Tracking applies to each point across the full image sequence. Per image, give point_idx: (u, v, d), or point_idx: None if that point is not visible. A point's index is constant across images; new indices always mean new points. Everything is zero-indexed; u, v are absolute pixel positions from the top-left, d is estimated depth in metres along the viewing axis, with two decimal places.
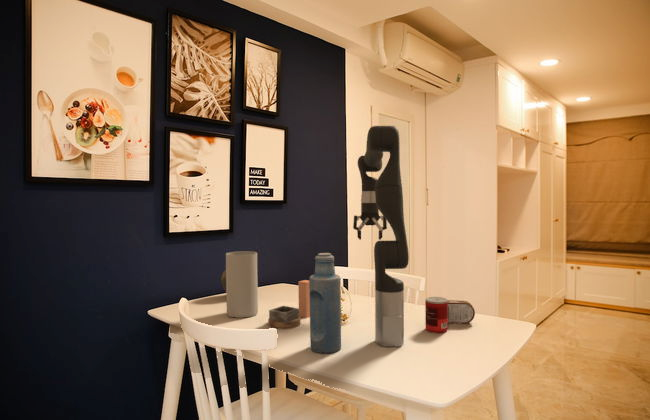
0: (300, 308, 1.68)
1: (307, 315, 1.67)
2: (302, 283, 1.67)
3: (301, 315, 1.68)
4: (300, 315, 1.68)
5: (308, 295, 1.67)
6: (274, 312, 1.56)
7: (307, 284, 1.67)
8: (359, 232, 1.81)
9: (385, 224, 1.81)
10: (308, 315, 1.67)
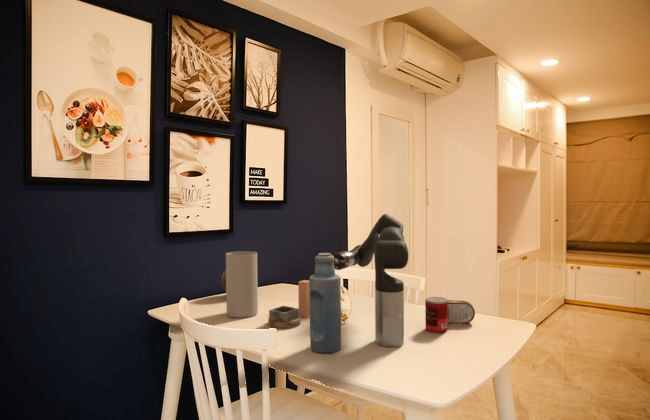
0: (300, 308, 1.68)
1: (307, 315, 1.67)
2: (302, 283, 1.67)
3: (301, 315, 1.68)
4: (300, 315, 1.68)
5: (308, 295, 1.67)
6: (274, 312, 1.56)
7: (307, 284, 1.67)
8: None
9: (343, 261, 1.79)
10: (308, 315, 1.67)
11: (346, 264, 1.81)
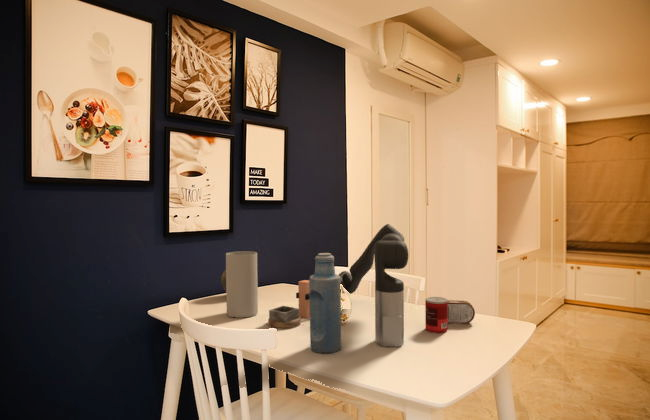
0: (300, 308, 1.68)
1: (307, 315, 1.67)
2: (302, 283, 1.67)
3: (301, 315, 1.68)
4: (300, 315, 1.68)
5: None
6: (274, 312, 1.56)
7: (307, 284, 1.66)
8: None
9: None
10: (308, 315, 1.67)
11: None
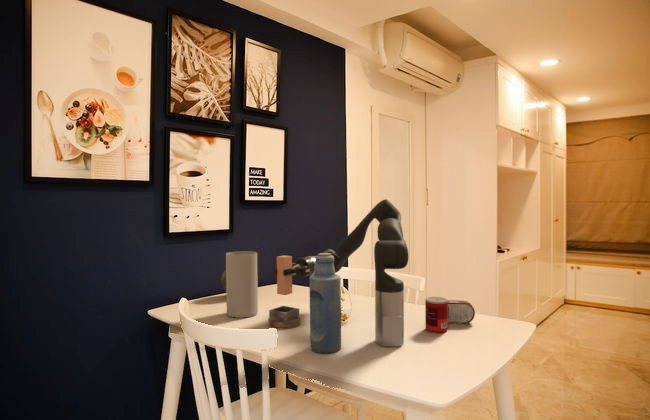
0: (278, 285, 1.57)
1: (286, 292, 1.56)
2: (280, 258, 1.56)
3: (280, 292, 1.57)
4: (279, 292, 1.57)
5: None
6: (274, 312, 1.56)
7: (286, 259, 1.56)
8: None
9: (301, 268, 1.58)
10: (287, 292, 1.57)
11: (306, 271, 1.59)
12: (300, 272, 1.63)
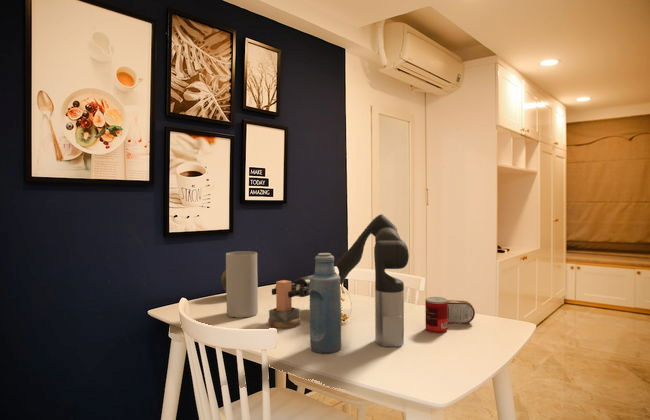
0: (278, 310, 1.57)
1: None
2: (280, 283, 1.57)
3: None
4: None
5: (287, 296, 1.57)
6: (274, 312, 1.56)
7: (285, 284, 1.56)
8: None
9: (304, 289, 1.58)
10: None
11: (309, 292, 1.59)
12: None
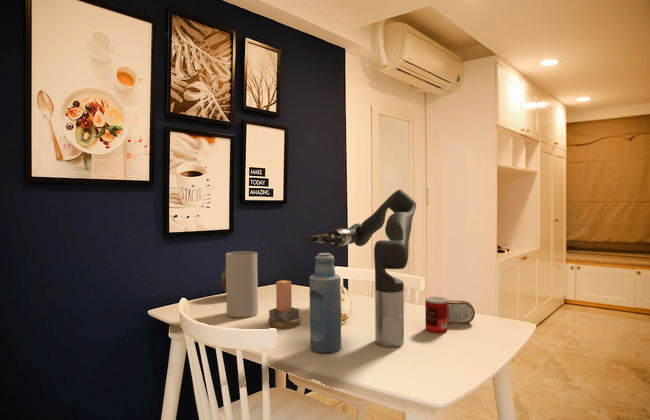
0: (278, 310, 1.57)
1: None
2: (280, 283, 1.56)
3: None
4: None
5: (287, 296, 1.57)
6: (274, 312, 1.56)
7: (285, 285, 1.56)
8: None
9: (339, 237, 1.72)
10: None
11: (343, 240, 1.74)
12: None
